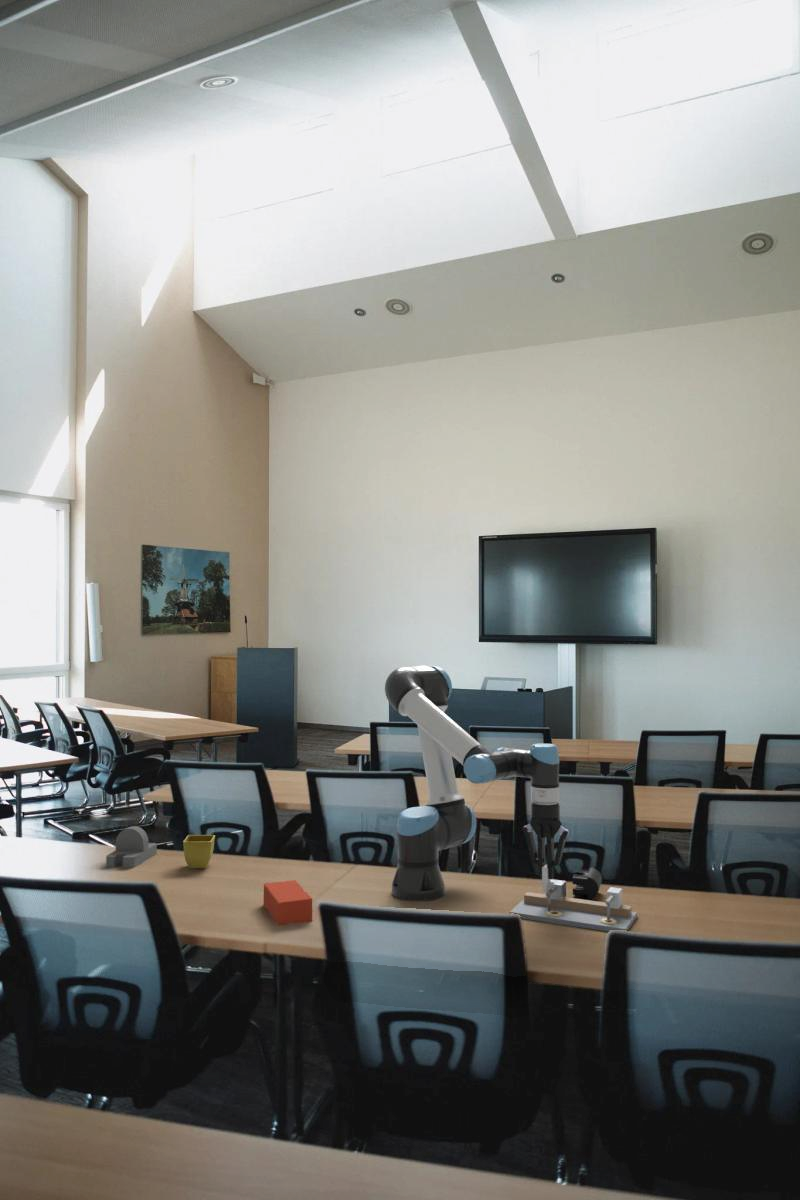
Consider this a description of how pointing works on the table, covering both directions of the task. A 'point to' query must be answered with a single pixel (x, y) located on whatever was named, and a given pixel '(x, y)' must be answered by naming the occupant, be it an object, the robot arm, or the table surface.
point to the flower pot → (198, 850)
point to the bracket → (131, 848)
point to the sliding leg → (555, 890)
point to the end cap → (586, 884)
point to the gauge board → (579, 911)
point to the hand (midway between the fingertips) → (546, 890)
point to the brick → (287, 902)
